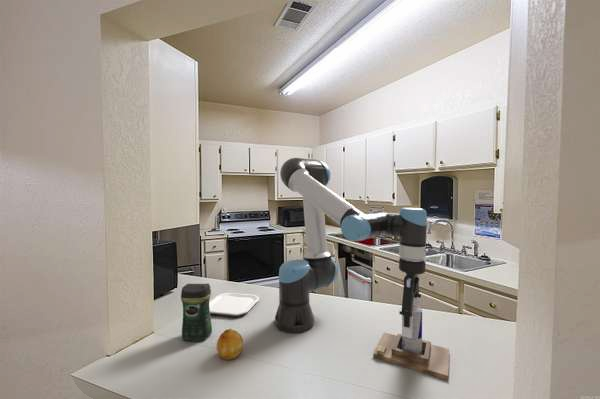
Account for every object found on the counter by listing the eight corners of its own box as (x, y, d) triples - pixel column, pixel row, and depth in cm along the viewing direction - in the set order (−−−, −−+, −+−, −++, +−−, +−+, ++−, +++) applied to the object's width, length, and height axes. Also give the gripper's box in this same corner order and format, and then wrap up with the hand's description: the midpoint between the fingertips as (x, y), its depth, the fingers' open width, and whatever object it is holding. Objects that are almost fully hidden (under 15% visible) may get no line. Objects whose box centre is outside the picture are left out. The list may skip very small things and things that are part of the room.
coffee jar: (214, 330, 97) (213, 280, 97) (206, 342, 89) (205, 288, 89) (188, 330, 98) (187, 280, 97) (178, 342, 90) (177, 288, 89)
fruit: (207, 347, 82) (217, 329, 80) (228, 338, 89) (237, 320, 87) (221, 370, 78) (232, 351, 76) (242, 358, 85) (252, 340, 83)
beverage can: (424, 362, 79) (424, 312, 78) (404, 360, 79) (405, 311, 79) (418, 350, 84) (418, 304, 84) (400, 349, 85) (400, 303, 84)
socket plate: (373, 357, 81) (373, 347, 81) (383, 335, 93) (383, 327, 93) (448, 380, 71) (448, 369, 71) (449, 352, 83) (449, 343, 83)
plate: (197, 315, 110) (197, 310, 110) (222, 296, 130) (222, 291, 130) (243, 320, 105) (243, 315, 105) (262, 299, 126) (262, 295, 125)
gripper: (421, 271, 69) (418, 351, 69) (429, 251, 90) (427, 312, 91) (391, 266, 72) (389, 342, 73) (405, 248, 94) (404, 307, 95)
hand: (410, 326), depth 82 cm, fingers open, 13 cm apart
